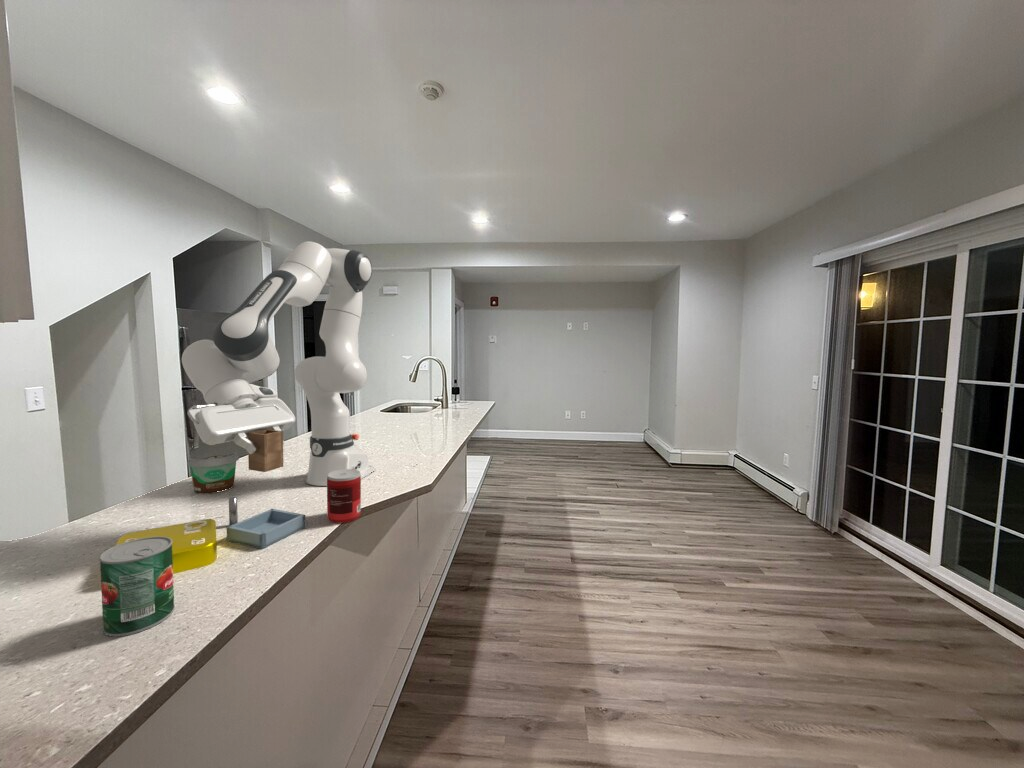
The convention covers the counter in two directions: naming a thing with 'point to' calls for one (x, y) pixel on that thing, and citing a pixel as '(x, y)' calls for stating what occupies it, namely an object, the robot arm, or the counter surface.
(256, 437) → the walnut tube
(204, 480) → the food container
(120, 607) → the canned tomato
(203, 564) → the element tile
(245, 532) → the slate tray
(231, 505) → the metal post
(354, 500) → the canned food
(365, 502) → the counter surface
